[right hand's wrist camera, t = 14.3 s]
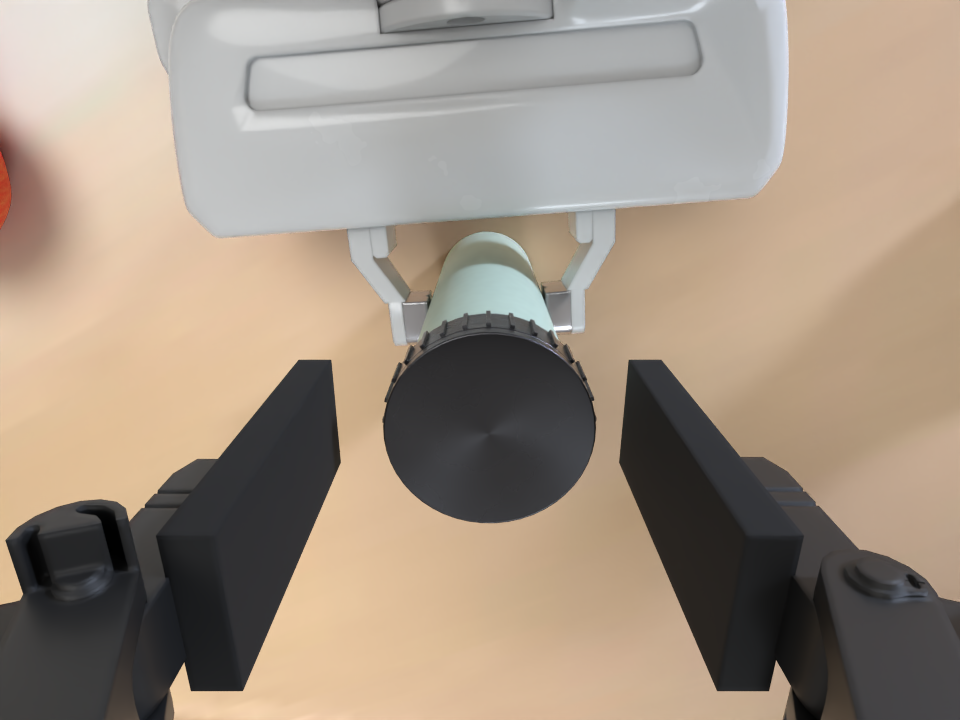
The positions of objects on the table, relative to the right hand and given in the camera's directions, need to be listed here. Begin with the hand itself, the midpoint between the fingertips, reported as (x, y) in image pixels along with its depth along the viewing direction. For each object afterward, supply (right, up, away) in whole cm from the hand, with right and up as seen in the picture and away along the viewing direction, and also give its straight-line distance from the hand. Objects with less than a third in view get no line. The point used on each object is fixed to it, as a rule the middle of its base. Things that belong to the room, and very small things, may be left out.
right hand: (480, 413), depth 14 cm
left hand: (0, +2, +9) cm, 9 cm away
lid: (0, 0, 0) cm, 0 cm away
